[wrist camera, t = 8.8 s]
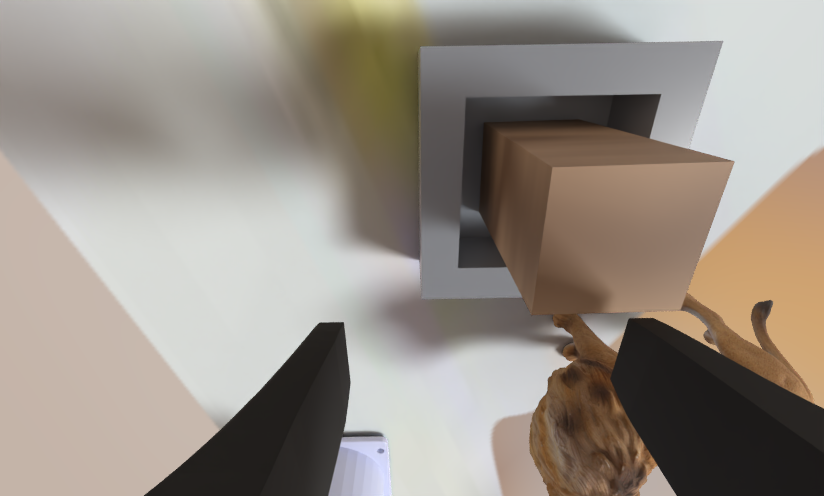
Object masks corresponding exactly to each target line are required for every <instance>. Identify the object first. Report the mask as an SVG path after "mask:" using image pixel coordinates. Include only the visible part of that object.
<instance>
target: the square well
mask: <svg viewBox="0 0 824 496" xmlns="http://www.w3.org/2000/svg"><path fill="white" fill-rule="evenodd" d="M722 43H723V41H700V42H643V43H586V44H529V45H473V46H420V49H419V51H418V136H419V262H420V279H421V296H422V299H469V298H522V296H521V294H520V292H519V290H518V288H517V286H516V284H515V282H514V280H513V278H512V276H511V274H510V272H509V270H508V268H507V266H506V264H505V262H504V260H503V258H502V256H501V254H500V252H499V250H498V248H497V246H496V244H495V242H494V240H493V239H492V237H491V235H490V233H489V231H488V229H487V227H486V225H485V223H484V221H483V219H482V217H481V215H480V213H479V202H480V184H481V165H482V147H483V129H484V122H512V121H543V120H573V119H580V120H583V121H587V122H591V123H594V124H598V125H602V126H605V127H609V128H613V129H617V130H620V131H624V132H628V133H631V134H635V135H639V136H642V137H646V138H650V139H653V140H657V141H661V142H664V143H668V144H672V145H675V146H679V147H683V148H687V149H689V147H690V144H691V141H692V138H693V134H694V131H695V128H696V125H697V122H698V119H699V116H700V112H701V109H702V106H703V103H704V100H705V97H706V94H707V90H708V87H709V84H710V81H711V78H712V75H713V72H714V68H715V65H716V62H717V59H718V56H719V53H720V50H721V47H722Z"/></svg>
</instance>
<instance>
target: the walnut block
mask: <svg viewBox="0 0 824 496" xmlns="http://www.w3.org/2000/svg"><path fill="white" fill-rule="evenodd" d="M733 165H734V161H731V160H727V159H723V158H720V157H716V156H712V155H709V154H705V153H701V152H698V151H694V150H690V149H687V148H683V147H679V146H675V145H672V144H668V143H664V142H661V141H657V140H653V139H650V138H646V137H642V136H639V135H635V134H631V133H628V132H624V131H620V130H617V129H613V128H609V127H605V126H602V125H598V124H594V123H591V122H587V121H583V120H580V119H573V120H543V121H512V122H484V129H483V147H482V165H481V184H480V202H479V213H480V215H481V217H482V219H483V221H484V223H485V225H486V227H487V229H488V231H489V233H490V235H491V237H492V239H493V240H494V242H495V244H496V246H497V248H498V250H499V252H500V254H501V256H502V258H503V260H504V262H505V264H506V266H507V268H508V270H509V272H510V274H511V276H512V278H513V280H514V282H515V284H516V286H517V288H518V290H519V292H520V294H521V296H522V298H523V300H524V302H525V304H526V305H527V307H528V309H529V311H530V313H531V315H552V314H586V313H619V312H651V311H680V310H681V307H682V304H683V301H684V299H685V296H686V293H687V290H688V288H689V285H690V282H691V279H692V277H693V274H694V271H695V269H696V266H697V263H698V260H699V258H700V255H701V252H702V249H703V247H704V244H705V241H706V238H707V236H708V233H709V230H710V228H711V225H712V222H713V219H714V217H715V214H716V211H717V208H718V206H719V203H720V200H721V197H722V195H723V192H724V189H725V186H726V184H727V181H728V178H729V176H730V173H731V170H732V167H733Z"/></svg>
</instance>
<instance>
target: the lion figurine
mask: <svg viewBox="0 0 824 496" xmlns="http://www.w3.org/2000/svg"><path fill="white" fill-rule="evenodd" d="M772 305H773V301H771V300H769V301H764V302H758V303H757V304H755V306H754V308H753V310H752V314H751V321H752V325H753V329H754V332H755V335H756V337H757V339H758V341H759V343H760V345H761V347H762V349H761V348H759V347H757V346H755V345H754V344H752V343H750V342H748V341H746V340H744V339H743V338H741V337H740V336H739V335H738V334H736V333H735V332H734V331H732V330H731V329H729V327H727V326H726V325H725V323H724V321H723V319H722V318H721V317H720V316H719V315H718V314H716V313H715V312H713V311H711V310H710V309H709V308H707V307H705V306H704V305H702V304H701V303H699V302H698V301H697V300H696V299H694V298H693V297H692V296H691V295H690V294H688V293H686V296H685V299H684V301H683V304H682V307H681V311H686V312H689V313H691V314H692V315H694V316H696V317H697V318H699V319H700V320H701V321H702V322H703V323H704V324H705V325H706V326H707V328H708V330H707V331H706V332H705V333H704V338H705V340H706V341H707V342H708V343H710V344H713V345H716V346H717V348H718V349H719V351H720V353H721V354H722V355H724V356H726V357H727V358H729V359H731V360H733V361H735V362H736V363H738V364H740V365H742V366H744V367H746V368H747V369H749V370H751V371H753V372H755V373H756V374H758V375H760V376H762V377H764V378H766V379H768V380H769V381H771V382H773V383H775V384H777V385H779V386H781V387H783V388H784V389H786V390H788V391H790V392H792V393H794V394H796V395H798V396H800V397H802V398H804V399H806V400H808V401H810V402H812V403H814V398H813V396H812V394H811V392H810V390H809V389H808V387H807V385H806V384H805V382H804V381H803V380H802V378H801V377H800V376H799V374H798V373H797V372H796V371H795V370H794V369H793V367H792V366H791V365H790V364H789V363H788V361H787V360H786V359H785V358H784V357H783V355H782V354H781V353H780V352H779V350H778V349H777V348H776V346H775V345H774V344H773V342H772V341H771V339H770V338H769V336H768V333H767V330H766V319H767V318H768V316H769V314H770V311H771V307H772ZM553 321H554V325H555V326H556V327H558V328H564V329H565V330H566V331H567V332H568V333H570V334H571V335H572V336H573V340H574V343H570V344H568V345H566V346H565V347H564V350H563V356H564V357H566V359H567V360H569V361H573V362H572V363H571V364H570V365H568V366H567V367H566V368H559V369H558V370H555V371H553V373H552V376H551V377H549V378H548V391H547V393H546V395H545V396H544V397H543V398H542V399H541V400H540V402H539V405H538V407H537V408H536V410H535V412H534V413H533V416H532V422H531V425H530V437H529V443H530V454H531V456H532V457H533V460H534V462H535V465H536V467H537V469H538V470H539V472H540V474H541V476H542V478H543V482H544V483H545V484H546V485H547V491H548V493H549V496H640V492H639V489H640V488H641V486H642V485H644V484H645V483H646V482H647V476H648V475H649V474H650V473H651V471H652V469H654V468H655V467H656V466H657V464H656V462H655V460H654V459H653V457H652V456H651V454H650V453H649V451H648V449H647V448H646V446H645V445H644V443H643V441H642V440H641V438H640V436H639V435H638V433H637V432H636V430H635V428H634V427H633V425H632V423H631V422H630V420H629V418H628V417H627V414H626V412H625V410H624V408H623V406H622V404H621V402H620V400H619V398H618V396H617V393H616V391H615V389H614V387H613V384H612V382H611V380H610V377H611V374H612V371H613V368H614V365H615V361H616V358H617V355H618V353H617V352H615V351H614V350H612V349H611V348H609V347H608V346H607V345H606V344H604V343H603V342H602V341H601V340H600V339H599V338H598V337H597V336H596V335H595V334H594V333H593V332H592V331H591V329H590V328H589V327H588V326H587V325H586V324H585V323H584V321H583V320H582V319H581V318H580V317H579V316H578V315H577V314H554V315H553Z"/></svg>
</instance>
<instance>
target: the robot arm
mask: <svg viewBox="0 0 824 496" xmlns="http://www.w3.org/2000/svg"><path fill="white" fill-rule="evenodd" d="M610 380H611V382H612V384H613V387H614V389H615V391H616V393H617V396H618V398H619V400H620V402H621V404H622V406H623V408H624V410H625V412H626V414H627V417H628V418H629V420H630V422H631V423H632V425H633V427H634V428H635V430H636V432H637V433H638V435H639V436H640V438H641V440H642V441H643V443H644V445H645V446H646V448H647V449H648V451H649V453H650V454H651V456H652V457H653V459H654V460H655V462H656V464H657V465H658V467H659V468H660V470H661V471H662V473H663V475H664V476H665V478H666V479H667V481H668V483H669V484H670V486H671V487H672V489H673V490H674V492H675V493H676V495H677V496H824V409H823V408H821V407H819V406H817V405H815V404H814V403H812V402H810V401H808V400H806V399H804V398H802V397H800V396H798V395H796V394H794V393H792V392H790V391H788V390H786V389H784V388H783V387H781V386H779V385H777V384H775V383H773V382H771V381H769V380H768V379H766V378H764V377H762V376H760V375H758V374H756V373H755V372H753V371H751V370H749V369H747V368H746V367H744V366H742V365H740V364H738V363H736V362H735V361H733V360H731V359H729V358H727V357H726V356H724V355H722V354H720V353H718V352H716V351H715V350H713V349H711V348H709V347H708V346H706V345H704V344H702V343H700V342H699V341H697V340H695V339H693V338H691V337H689V336H688V335H686V334H684V333H682V332H680V331H678V330H676V329H674V328H673V327H671V326H669V325H667V324H665V323H663V322H660V321H658V320H656V319H654V318H629V320H628V323H627V326H626V329H625V333H624V336H623V339H622V342H621V346H620V349H619V352H618V355H617V358H616V361H615V365H614V368H613V371H612V374H611V377H610ZM350 383H351V382H350V374H349V365H348V356H347V347H346V338H345V329H344V322H330V323H319V324H318V325H317V326H316V327H315V328H314V329H313V330H312V331H311V333H310V334H309V335H308V336H307V337H306V339H305V340H304V341H303V342H302V343H301V345H300V346H299V347H298V348H297V349H296V351H295V352H294V353H293V354H292V355H291V356H290V358H289V359H288V360H287V361H286V362H285V363H284V364H283V365H282V367H281V368H280V369H279V370H278V371H277V372H276V373H275V374H274V375H273V377H272V378H271V379H270V380H269V381H268V382H267V383H266V384H265V385H264V387H263V388H262V389H261V390H260V391H259V392H258V393H257V394H256V395H255V396H254V397H253V398H252V399H251V400H250V401H249V402H248V403H247V404H246V405H245V406H244V407H243V408H242V409H241V410H240V411H239V412H238V413H237V414H236V415H235V416H234V417H233V418H232V419H231V420H230V421H229V422H228V423H227V424H226V425H225V426H224V427H223V428H222V429H221V430H220V431H219V432H218V433H217V434H215V435H214V436H213V437H212V438H211V439H210V440H209V441H208V442H207V443H206V444H205V445H204V446H202V447H201V448H200V449H199V450H198V451H197V452H196V453H195V454H194V455H192V456H191V457H190V458H189V459H188V460H187V461H186V462H184V463H183V464H182V465H181V466H180V467H178V468H177V469H176V470H175V471H174V472H172V473H171V474H170V475H169V476H168V477H166V478H165V479H164V480H163V481H162V482H160V483H159V484H158V485H157V486H156V487H154V488H153V489H152V490H150V491H149V492H148V493H147V494H145V495H144V496H392V494H391V479H390V465H389V450H388V440H387V439H386V438H385V437H382V436H371V437H342V436H343V431H344V427H345V423H346V415H347V408H348V400H349V391H350Z"/></svg>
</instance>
